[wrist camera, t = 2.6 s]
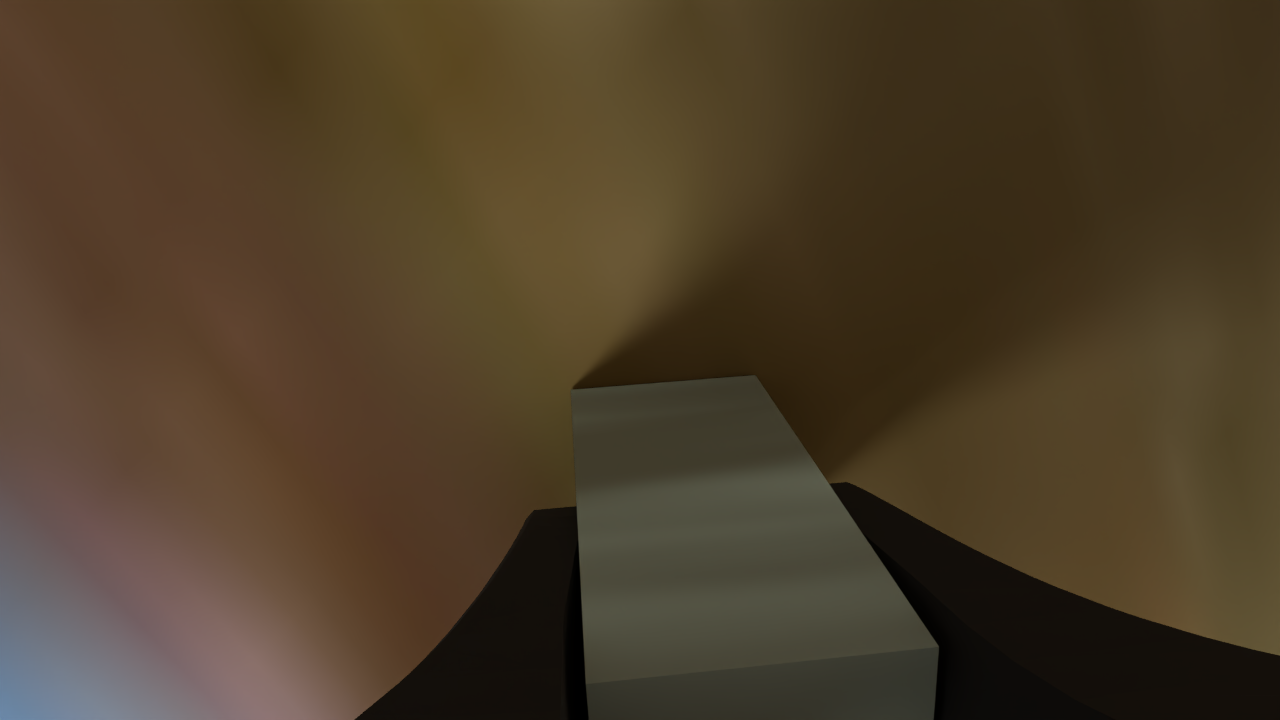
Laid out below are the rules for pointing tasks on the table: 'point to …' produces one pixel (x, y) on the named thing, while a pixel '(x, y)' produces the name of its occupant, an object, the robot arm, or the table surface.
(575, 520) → the robot arm
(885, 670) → the gray rectangular block
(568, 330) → the table surface
